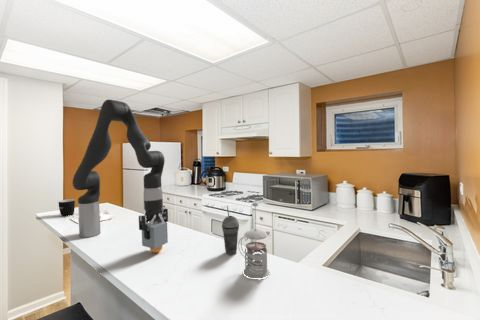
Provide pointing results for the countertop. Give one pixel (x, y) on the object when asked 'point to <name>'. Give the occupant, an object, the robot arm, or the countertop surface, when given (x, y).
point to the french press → (255, 267)
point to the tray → (102, 215)
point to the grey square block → (156, 235)
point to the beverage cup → (230, 234)
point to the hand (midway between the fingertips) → (154, 235)
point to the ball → (156, 249)
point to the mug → (67, 207)
